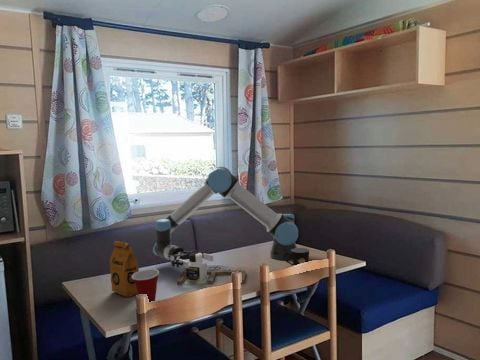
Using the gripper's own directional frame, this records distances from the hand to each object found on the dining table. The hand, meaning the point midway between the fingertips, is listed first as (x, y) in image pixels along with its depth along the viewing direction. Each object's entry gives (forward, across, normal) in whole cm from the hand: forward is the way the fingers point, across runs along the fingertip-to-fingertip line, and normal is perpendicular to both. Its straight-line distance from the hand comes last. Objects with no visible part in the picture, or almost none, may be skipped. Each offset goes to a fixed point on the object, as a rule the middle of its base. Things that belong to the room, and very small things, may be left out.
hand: (200, 261), depth 189 cm
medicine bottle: (-3, 0, -9) cm, 9 cm away
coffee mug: (+23, -40, -9) cm, 47 cm away
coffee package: (-12, +31, -9) cm, 34 cm away
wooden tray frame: (+2, -5, -9) cm, 10 cm away
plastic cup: (+4, +30, -9) cm, 32 cm away
